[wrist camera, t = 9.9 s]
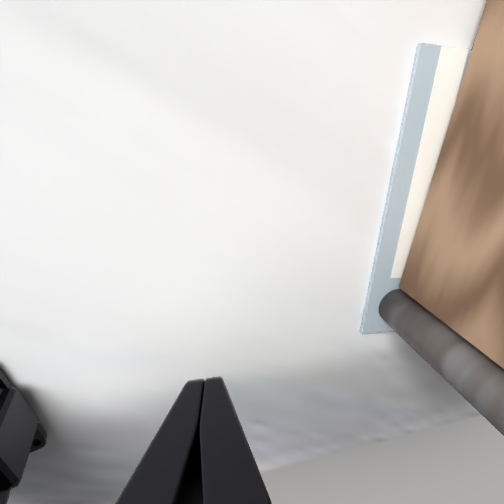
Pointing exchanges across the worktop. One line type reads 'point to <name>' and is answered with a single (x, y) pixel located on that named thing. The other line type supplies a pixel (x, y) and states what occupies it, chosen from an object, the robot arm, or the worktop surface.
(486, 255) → the fence swing panel
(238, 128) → the worktop surface
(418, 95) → the card
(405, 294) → the panel
